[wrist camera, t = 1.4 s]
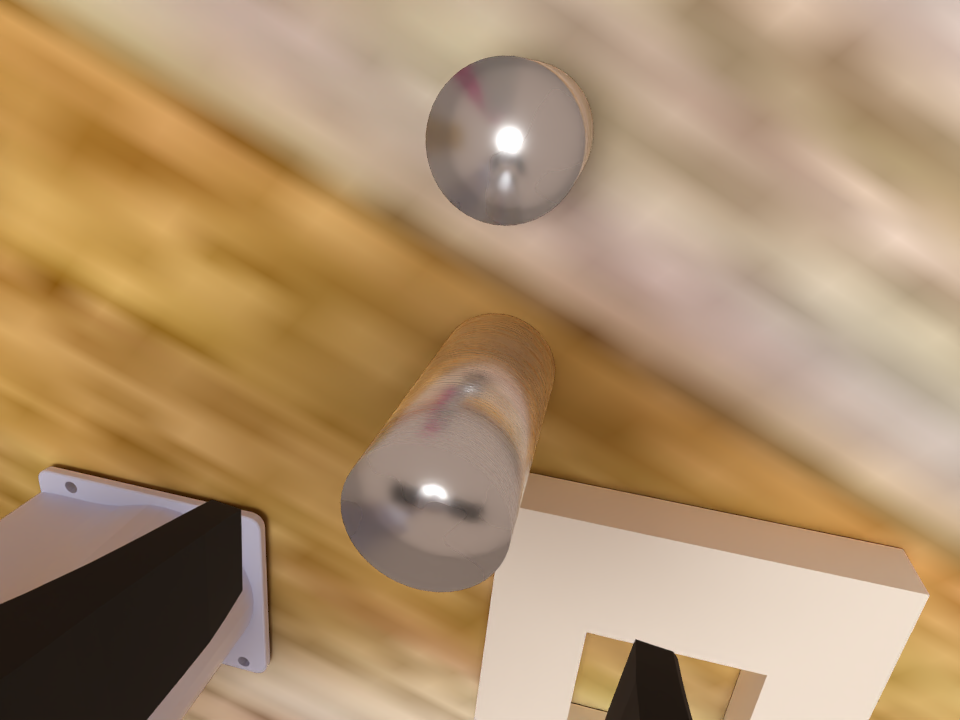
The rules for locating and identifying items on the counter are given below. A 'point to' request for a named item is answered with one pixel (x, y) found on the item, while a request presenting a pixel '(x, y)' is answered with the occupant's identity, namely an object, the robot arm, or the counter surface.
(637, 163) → the counter surface
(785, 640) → the hole board
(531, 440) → the long steel pin
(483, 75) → the short steel pin
